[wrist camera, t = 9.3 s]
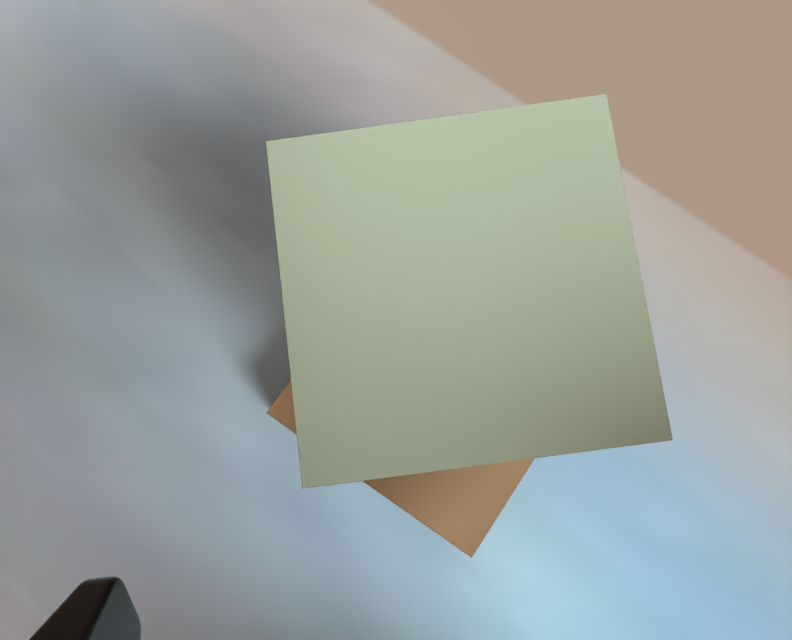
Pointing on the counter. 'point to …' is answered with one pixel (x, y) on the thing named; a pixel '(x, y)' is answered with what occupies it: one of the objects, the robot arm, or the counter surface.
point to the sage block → (462, 293)
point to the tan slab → (440, 490)
